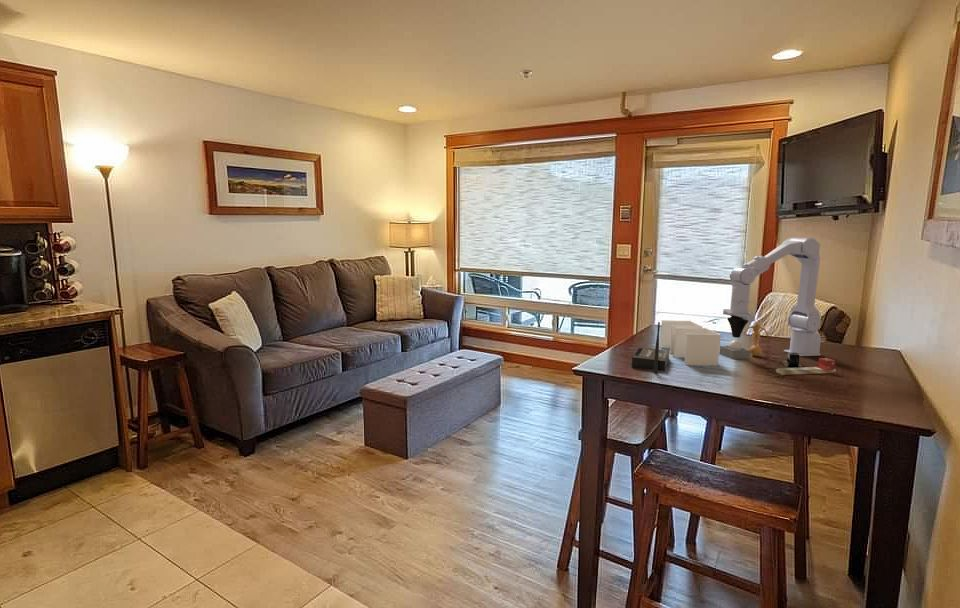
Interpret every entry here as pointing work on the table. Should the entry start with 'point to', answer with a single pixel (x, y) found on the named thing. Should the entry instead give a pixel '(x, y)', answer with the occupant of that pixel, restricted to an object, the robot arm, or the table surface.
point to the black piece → (792, 360)
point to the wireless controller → (651, 357)
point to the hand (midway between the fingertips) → (736, 337)
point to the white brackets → (690, 342)
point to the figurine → (756, 349)
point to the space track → (811, 368)
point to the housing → (734, 352)
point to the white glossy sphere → (735, 345)
